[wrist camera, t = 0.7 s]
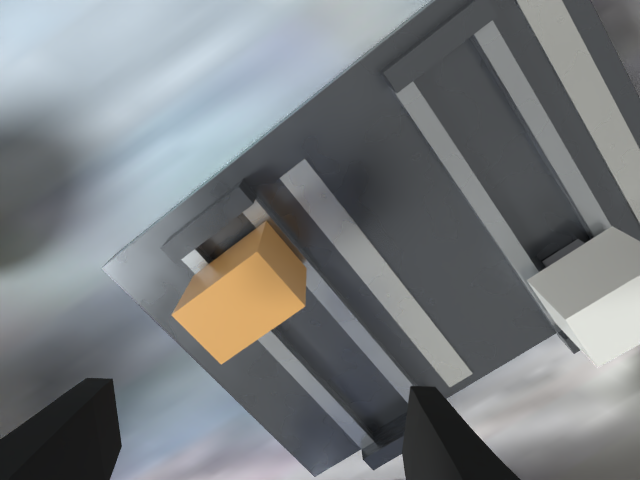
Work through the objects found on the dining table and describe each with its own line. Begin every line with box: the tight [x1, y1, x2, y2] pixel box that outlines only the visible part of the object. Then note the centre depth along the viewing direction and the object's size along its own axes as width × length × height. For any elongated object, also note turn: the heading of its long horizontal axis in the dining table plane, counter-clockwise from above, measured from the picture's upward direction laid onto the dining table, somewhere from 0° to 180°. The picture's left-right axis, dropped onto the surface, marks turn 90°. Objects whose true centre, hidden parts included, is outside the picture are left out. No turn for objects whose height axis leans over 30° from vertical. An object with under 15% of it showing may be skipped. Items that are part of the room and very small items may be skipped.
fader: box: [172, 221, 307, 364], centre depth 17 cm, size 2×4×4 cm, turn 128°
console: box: [101, 0, 640, 477], centre depth 19 cm, size 14×20×3 cm
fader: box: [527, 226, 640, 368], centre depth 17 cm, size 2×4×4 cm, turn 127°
